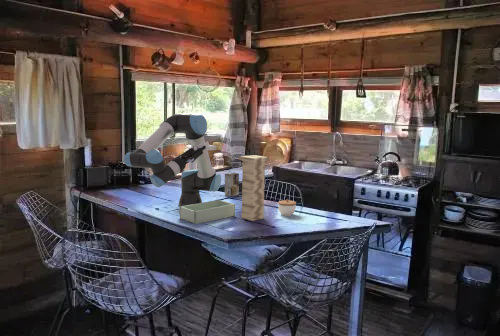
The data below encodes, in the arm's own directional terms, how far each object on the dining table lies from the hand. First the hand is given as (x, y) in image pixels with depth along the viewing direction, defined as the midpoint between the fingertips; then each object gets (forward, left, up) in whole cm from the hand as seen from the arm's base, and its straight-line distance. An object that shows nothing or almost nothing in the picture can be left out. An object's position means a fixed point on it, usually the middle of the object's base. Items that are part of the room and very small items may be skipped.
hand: (206, 143), depth 234 cm
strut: (-1, +1, -4) cm, 4 cm away
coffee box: (-63, +21, -44) cm, 79 cm away
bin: (-1, +1, -43) cm, 43 cm away
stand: (+3, +27, -43) cm, 51 cm away
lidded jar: (-4, +49, -44) cm, 66 cm away
